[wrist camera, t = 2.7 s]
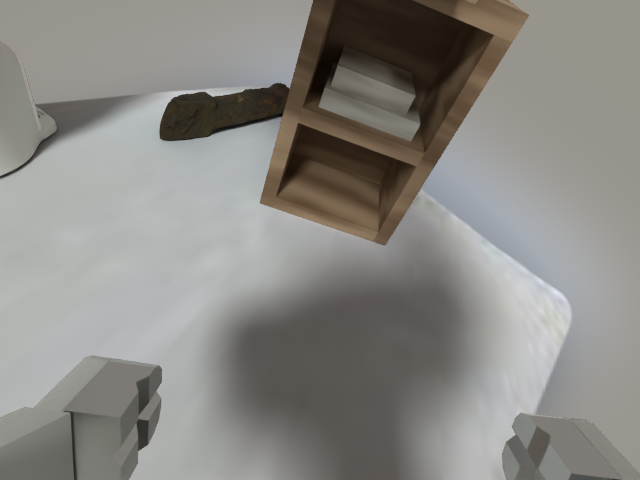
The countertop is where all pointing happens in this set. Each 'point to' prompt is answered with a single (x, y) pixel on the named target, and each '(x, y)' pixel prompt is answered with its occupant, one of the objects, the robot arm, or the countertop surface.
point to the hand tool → (219, 111)
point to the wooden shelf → (380, 105)
